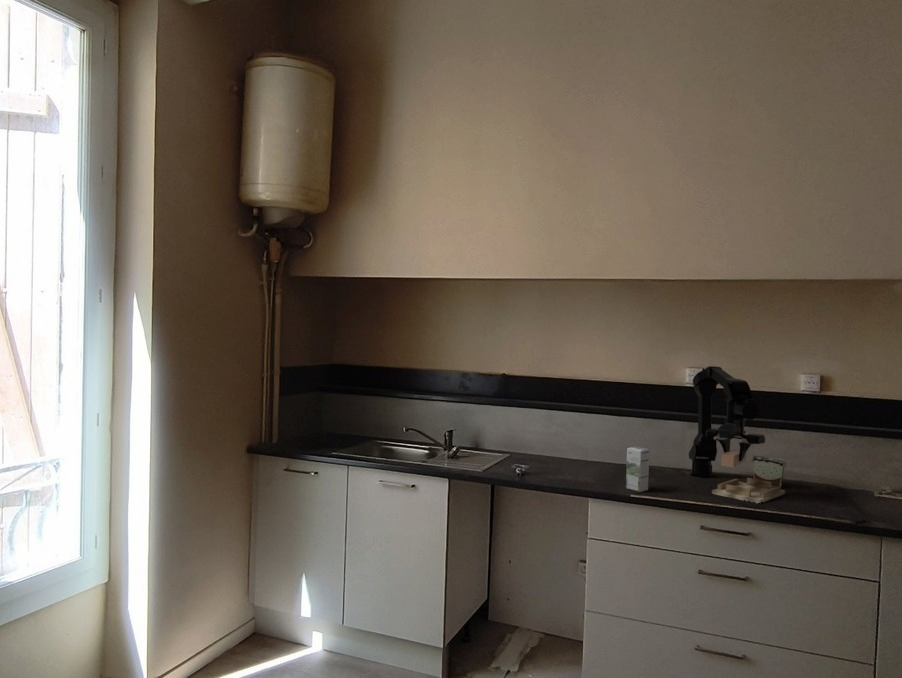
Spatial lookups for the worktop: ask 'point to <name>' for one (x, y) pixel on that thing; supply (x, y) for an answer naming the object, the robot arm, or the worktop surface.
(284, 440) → the worktop surface
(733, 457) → the pinkish brown block
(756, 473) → the food container
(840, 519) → the worktop surface
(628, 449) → the syrup box
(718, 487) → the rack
